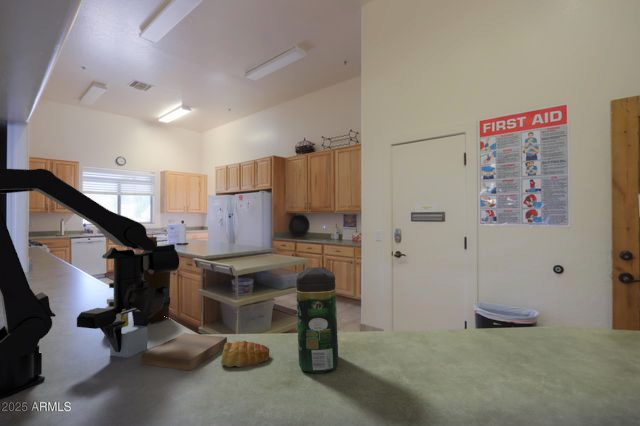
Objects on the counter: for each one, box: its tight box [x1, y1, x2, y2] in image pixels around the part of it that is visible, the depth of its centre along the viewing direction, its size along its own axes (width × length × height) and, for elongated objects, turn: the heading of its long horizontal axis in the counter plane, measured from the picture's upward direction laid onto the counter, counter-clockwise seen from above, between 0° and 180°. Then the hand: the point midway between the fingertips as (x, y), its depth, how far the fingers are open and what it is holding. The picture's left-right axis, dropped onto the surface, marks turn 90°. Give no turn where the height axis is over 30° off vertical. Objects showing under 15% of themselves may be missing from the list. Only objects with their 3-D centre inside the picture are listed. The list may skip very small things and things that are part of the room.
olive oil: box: [141, 236, 171, 325], centre depth 92 cm, size 11×11×25 cm
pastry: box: [220, 340, 270, 368], centre depth 62 cm, size 9×7×4 cm
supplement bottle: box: [103, 296, 129, 338], centre depth 80 cm, size 5×5×10 cm
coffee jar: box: [295, 266, 339, 374], centre depth 60 cm, size 10×8×19 cm
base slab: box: [140, 332, 228, 372], centre depth 65 cm, size 12×12×2 cm
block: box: [109, 324, 148, 359], centre depth 68 cm, size 5×5×5 cm
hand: (129, 347), depth 68 cm, fingers closed on block, 5 cm apart
